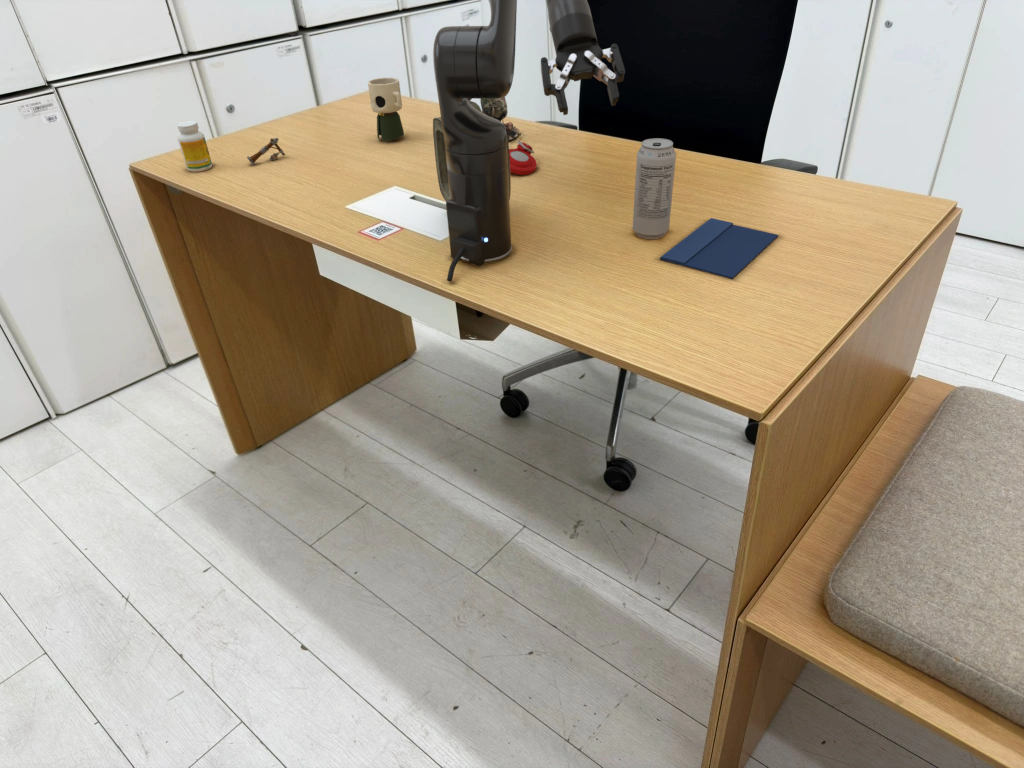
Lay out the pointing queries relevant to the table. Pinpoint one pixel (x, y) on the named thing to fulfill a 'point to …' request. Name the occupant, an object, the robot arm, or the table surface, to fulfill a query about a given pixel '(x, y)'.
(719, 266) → the open blue folder
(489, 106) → the plant with pod
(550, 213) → the table surface
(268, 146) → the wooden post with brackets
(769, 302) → the table surface
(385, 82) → the character mug
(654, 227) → the energy drink can
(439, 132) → the tall jug with handle
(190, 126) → the supplement bottle
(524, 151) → the tracker holder
